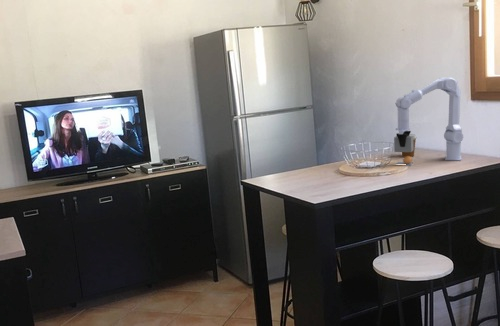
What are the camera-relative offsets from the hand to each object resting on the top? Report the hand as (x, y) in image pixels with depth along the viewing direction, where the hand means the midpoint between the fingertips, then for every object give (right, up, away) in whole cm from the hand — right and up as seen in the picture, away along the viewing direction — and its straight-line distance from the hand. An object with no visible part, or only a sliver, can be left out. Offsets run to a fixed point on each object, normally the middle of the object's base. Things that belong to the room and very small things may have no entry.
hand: (403, 145), depth 282 cm
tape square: (+1, -10, +2) cm, 10 cm away
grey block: (0, -3, 0) cm, 3 cm away
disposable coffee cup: (+9, -5, +22) cm, 24 cm away
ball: (+2, -8, 0) cm, 8 cm away
